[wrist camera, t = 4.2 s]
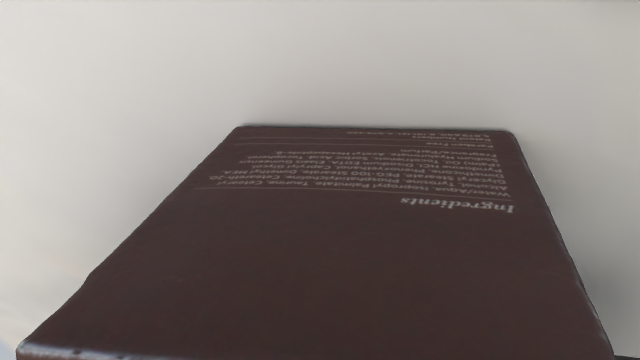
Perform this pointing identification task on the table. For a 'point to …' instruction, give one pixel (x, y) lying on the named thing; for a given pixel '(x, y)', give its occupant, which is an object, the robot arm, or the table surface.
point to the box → (338, 259)
